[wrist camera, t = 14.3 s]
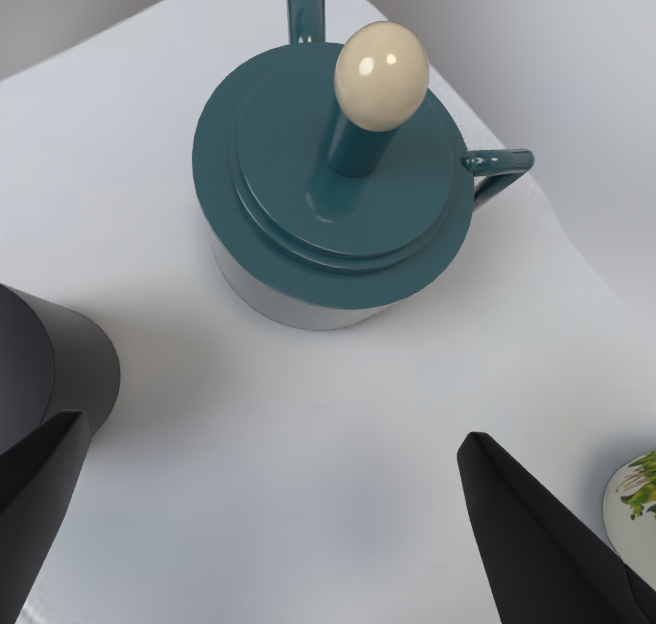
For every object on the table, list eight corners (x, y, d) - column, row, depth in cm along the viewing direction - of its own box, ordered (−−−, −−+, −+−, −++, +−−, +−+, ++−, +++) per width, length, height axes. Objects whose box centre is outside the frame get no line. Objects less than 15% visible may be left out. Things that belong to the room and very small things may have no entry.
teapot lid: (390, 301, 15) (469, 257, 10) (191, 179, 15) (154, 55, 9) (476, 138, 18) (581, 26, 12) (308, 25, 17) (336, -149, 11)
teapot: (479, 309, 25) (580, 278, 17) (224, 345, 22) (208, 326, 14) (426, 71, 28) (493, -48, 20) (190, 68, 24) (161, -79, 16)
